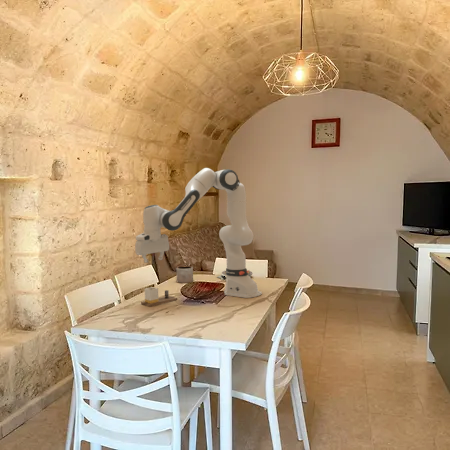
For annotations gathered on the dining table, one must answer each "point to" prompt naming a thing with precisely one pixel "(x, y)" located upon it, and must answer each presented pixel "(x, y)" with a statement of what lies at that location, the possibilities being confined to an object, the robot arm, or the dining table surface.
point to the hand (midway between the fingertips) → (153, 261)
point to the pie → (226, 275)
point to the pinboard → (161, 300)
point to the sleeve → (151, 295)
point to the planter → (184, 274)
